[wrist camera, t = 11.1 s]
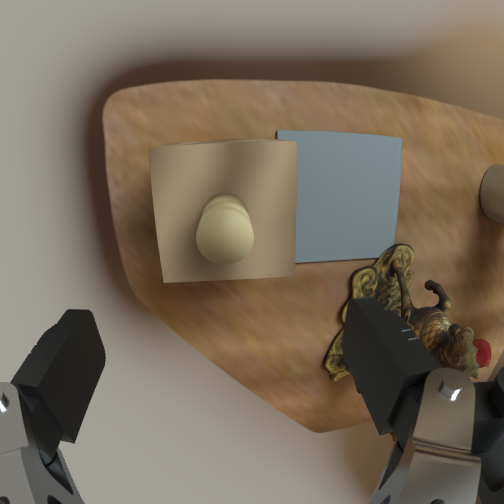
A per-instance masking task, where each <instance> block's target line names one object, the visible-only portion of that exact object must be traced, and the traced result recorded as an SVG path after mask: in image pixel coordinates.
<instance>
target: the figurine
mask: <svg viewBox="0 0 504 504" xmlns="http://www.w3.org/2000/svg"><path fill="white" fill-rule="evenodd" d="M413 260H414V251H413V249H412V248H411V246H409V245H407V244H395V245H392V246H391V247H389V248H388V249H387V250H386V251H385V252H384V253H383V254H382V255H381V256H380V257H379V259H378V260H377V262H376V263H375V264H374V265H373V266H366V267H363V268H360V269H358V270H356V271H355V272H354V274H353V276H352V280H351V286H352V291H351V297H350V299H352V298H361V297H370V296H374V297H375V298H376V299H377V300H378V301H379V303H380V304H381V305H382V306H383V308H384V309H385V310H391V311H392V312H394V313H395V314H397V315H399V316H400V317H402V318H403V319H404V320H405V322H406V323H407V324H408V325H409V327H410V328H411V330H413V331H414V333H415V334H416V335H417V338H418V339H420V340H421V341H422V343H423V344H424V345H425V347H426V348H427V349H428V350H429V352H430V353H431V354H432V355H433V357H434V358H435V359H436V361H437V362H438V363H439V365H440V366H441V367H442V368H453V369H457V370H459V371H461V372H463V373H464V374H466V375H467V376H468V377H470V376H472V377H473V378H475V379H478V373H479V370H478V368H479V367H480V365H479V364H478V363H477V362H476V354H477V348H476V347H475V346H474V345H473V344H472V343H473V340H474V332H473V330H472V329H471V328H470V327H466V328H462V329H461V328H460V327H459V325H458V324H453V325H452V324H451V322H450V320H449V319H448V317H447V316H446V314H445V312H446V311H447V310H448V309H449V308H450V305H451V301H450V299H449V298H448V296H447V295H446V293H445V292H444V290H443V288H442V286H441V285H440V284H438V283H436V282H434V281H432V280H428V281H427V282H426V283H425V288H426V289H427V290H433V293H435V294H437V295H438V296H439V302H438V304H437V305H435V306H434V307H423V308H419V309H417V308H415V307H414V306H413V305H412V302H411V298H410V295H409V292H408V288H409V286H410V284H411V282H412V280H413V277H414V273H413V272H411V271H409V270H408V269H409V268H410V266H411V265H412V263H413ZM350 299H349V300H350ZM349 300H348V301H347V302H346V303H345V305H344V306H343V309H342V311H341V320H342V321H343V323H344V324H345V319H346V312H347V306H348V302H349ZM343 331H344V327H343V329H342V330H341V331H340V332H339V333H338V335H337V336H336V337H335V339H334V341H333V342H332V344H331V347H330V349H329V351H328V353H327V355H326V357H325V361H324V367H325V368H326V369H327V370H328V371H330V378H331V380H332V381H334V382H336V381H339V380H340V379H341V378H342V377H343V376H346V375H348V374H352V373H351V371H350V369H349V367H348V365H347V362H346V360H345V358H344V355H343V351H342V337H343ZM354 380H355V379H354ZM355 385H356V389H357V391H358V393H359V394H360V393H361V392H360V390H359V388H358V386H357V384H356V382H355ZM390 434H391V435H392V436H393V441H394V442H395V440H396V436H395V434H394V432H390Z"/></svg>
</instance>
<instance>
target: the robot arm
mask: <svg viewBox="0 0 504 504" xmlns="http://www.w3.org/2000/svg"><path fill="white" fill-rule="evenodd" d="M480 200H481V206H482V209H483V211H484V213H485V214H486V216H488V217H489V218H491V219H493V220H495V221H497V222H500V223H502V224H504V165H500V164H495V165H493V166H491V167H490V168H489V169H488V171H487V172H486V174H485V176H484V178H483V181H482V184H481V191H480ZM342 351H343V355H344V358H345V360H346V362H347V365H348V367H349V369H350V371H351V373H352V375H353V377H354V379H355V382H356V384H357V386H358V388H359V390H360V392H361V395H362V397H363V399H364V401H365V403H366V406H367V408H368V410H369V412H370V414H371V417H372V419H373V421H374V423H375V426H376V428H377V430H378V432H379V435H383V434H387V433H390V432H394V434H395V436H396V440H395V442H394V444H393V447H392V449H391V452H390V455H389V458H388V460H387V463H386V465H385V468H384V470H383V473H382V475H381V478H380V480H379V483H378V485H377V487H376V490H375V492H374V494H373V496H372V498H371V500H370V501H369V503H368V504H475V501H476V496H477V493H478V495H479V497H480V500H481V502H482V504H504V439H503V437H504V367H502V368H501V369H500V371H499V372H498V374H497V376H496V377H495V379H494V381H490V382H475V383H473V382H472V380H471V379H470V378H469V377H468V376H467V375H466V374H464V373H463V372H461V371H459V370H457V369H453V368H442V367H441V366H440V365H439V363H438V362H437V361H436V359H435V358H434V357H433V355H432V354H431V353H430V352H429V350H428V349H427V348H426V347H425V345H424V344H423V343H422V341H421V340H420V339H418V338H417V335H416V334H415V333H414V331H413V330H411V328H410V327H409V325H408V324H407V323H406V322H405V320H404V319H403V318H402V317H400V316H399V315H397V314H395V313H394V312H392V311H391V310H385V309H384V308H383V306H382V305H381V304H380V303H379V301H378V300H377V299H376V298H375V297H374V296H370V297H361V298H352V299H350V300H349V302H348V306H347V312H346V319H345V325H344V331H343V337H342ZM105 357H106V356H105V350H104V346H103V344H102V341H101V338H100V334H99V332H98V329H97V325H96V323H95V319H94V316H93V314H92V312H91V311H90V310H79V309H69V310H67V311H66V312H65V313H64V314H63V316H62V317H61V319H60V320H59V321H58V323H57V324H55V325H54V326H52V327H51V328H50V329H48V330H47V331H46V332H45V333H44V334H43V335H42V336H41V338H40V339H39V341H38V342H37V345H35V346H34V348H33V349H32V351H31V353H30V354H29V355H28V356H27V358H26V359H25V361H24V362H23V364H22V365H21V367H20V368H19V370H18V371H17V373H16V374H15V376H14V378H13V379H12V381H11V382H10V383H7V382H0V504H85V503H84V502H83V500H82V498H81V496H80V494H79V492H78V490H77V488H76V486H75V484H74V481H73V479H72V477H71V475H70V472H69V470H68V468H67V465H66V463H65V460H64V457H63V455H62V452H61V450H60V449H59V448H58V445H59V443H60V440H61V441H66V442H70V443H75V441H76V438H77V435H78V432H79V429H80V427H81V424H82V421H83V419H84V416H85V413H86V411H87V408H88V405H89V403H90V400H91V398H92V395H93V393H94V390H95V388H96V385H97V383H98V381H99V378H100V376H101V373H102V371H103V368H104V366H105V359H106V358H105Z"/></svg>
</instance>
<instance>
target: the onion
mask: <svg viewBox="0 0 504 504" xmlns="http://www.w3.org/2000/svg"><path fill="white" fill-rule="evenodd" d="M472 344H473V345H474V346H475V347H476V348H477V354H476V362H477V363H478V364H479V365H480V367H479V368H482V367H484V366H486V367H489V365H490V359H491V348H490V345H489V343H488V342H487V341H485V340H483V339H476V340H473V343H472Z"/></svg>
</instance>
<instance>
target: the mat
mask: <svg viewBox="0 0 504 504" xmlns="http://www.w3.org/2000/svg"><path fill="white" fill-rule="evenodd" d="M277 139H279V140H289V141H297V210H296V252H295V263H301V262H317V261H334V260H349V259H364V258H379V257H380V256H381V255H382V254H383V253H384V252H385V251H386V250H387V249H388V248H389V247H391V246H392V245H394V239H395V231H396V223H397V213H398V203H399V192H400V179H401V161H402V138H397V137H388V136H379V135H368V134H356V133H342V132H323V131H285V130H277Z"/></svg>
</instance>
